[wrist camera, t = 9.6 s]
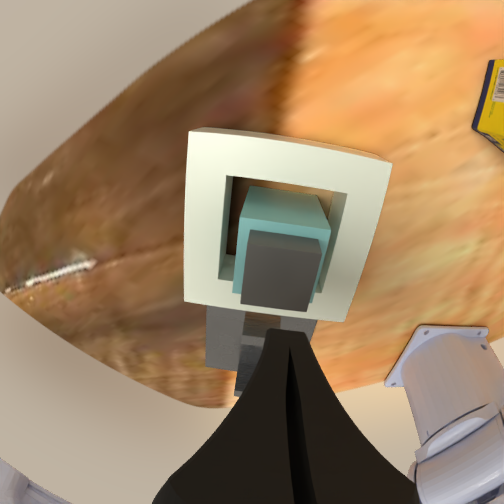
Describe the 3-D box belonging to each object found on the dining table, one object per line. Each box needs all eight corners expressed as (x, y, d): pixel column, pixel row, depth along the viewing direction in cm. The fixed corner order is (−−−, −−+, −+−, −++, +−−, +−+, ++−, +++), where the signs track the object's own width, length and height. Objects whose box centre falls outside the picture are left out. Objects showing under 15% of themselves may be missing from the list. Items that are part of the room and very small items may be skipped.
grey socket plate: (319, 304, 21) (325, 338, 18) (296, 373, 24) (297, 405, 21) (209, 289, 21) (197, 322, 18) (206, 361, 25) (198, 393, 21)
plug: (316, 195, 17) (337, 244, 11) (304, 254, 19) (314, 321, 13) (249, 185, 17) (235, 230, 11) (242, 245, 19) (228, 310, 13)
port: (374, 153, 16) (392, 163, 13) (336, 294, 20) (343, 322, 18) (203, 126, 16) (189, 131, 13) (195, 275, 20) (184, 301, 18)
